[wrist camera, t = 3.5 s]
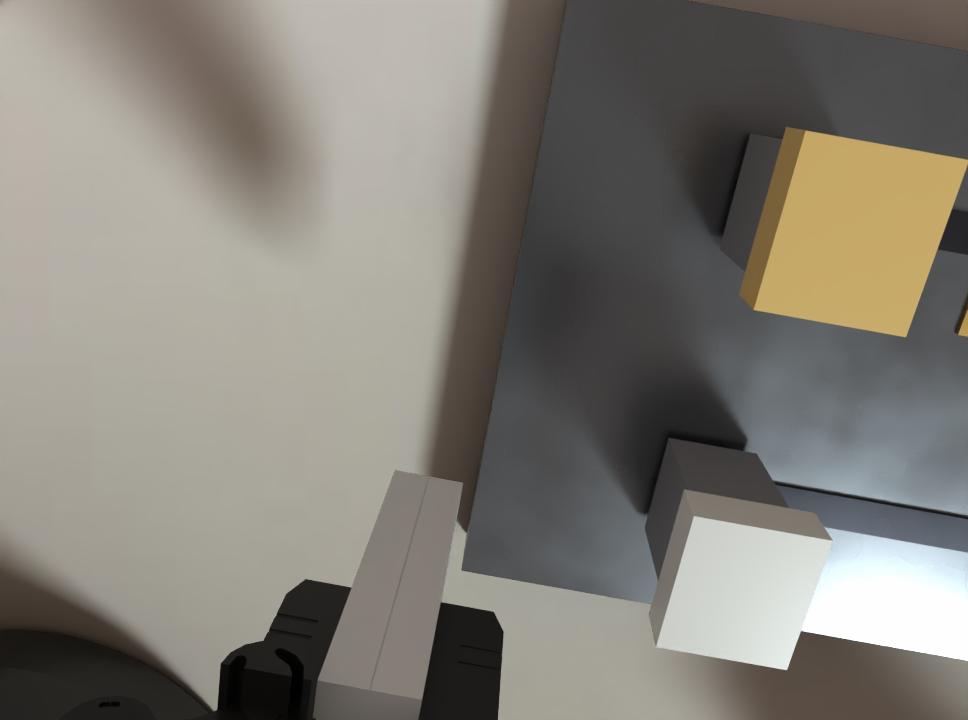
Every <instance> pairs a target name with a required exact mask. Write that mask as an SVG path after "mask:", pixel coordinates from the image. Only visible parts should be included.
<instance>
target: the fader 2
mask: <svg viewBox="0 0 968 720" xmlns="http://www.w3.org/2000/svg"><path fill="white" fill-rule="evenodd" d="M967 165H968V160H966V159H961V158H955V157H950V156H945V155H939V154H934V153H928V152H923V151H917V150H912V149H906V148H901V147H895V146H890V145H884V144H879V143H873V142H867V141H862V140H856V139H851V138H845V137H840V136H834V135H829V134H823V133H818V132H812V131H806V130H801V129H795V128H790V127H786V129H785V133H784V136H783V139H778V138H772V137H767V136H761V135H756V134H750V137H749V141H748V144H747V148H746V152H745V156H744V159H743V163H742V167H741V170H740V174H739V178H738V182H737V185H736V189H735V193H734V197H733V200H732V204H731V208H730V211H729V215H728V219H727V223H726V226H725V230H724V234H723V238H722V241H721V245H720V250H721V251H722V252H723V253H724V254H726V255H727V256H728V257H729V258H730V259H731V260H732V261H733V262H734V263H735V264H737V265H738V266H739V267H740V268H741V269H742V270H743V271H744V272H745V275H744V278H743V282H742V285H741V289H740V292H739V295H740V296H741V297H742V298H743V299H744V300H745V301H746V302H747V304H748V305H749V306H750V307H751V308H752V309H753V310H757V311H762V312H768V313H773V314H779V315H784V316H790V317H796V318H801V319H807V320H812V321H818V322H824V323H829V324H835V325H840V326H846V327H851V328H857V329H863V330H868V331H874V332H879V333H885V334H890V335H896V336H902V337H906V336H907V333H908V330H909V327H910V325H911V322H912V319H913V316H914V313H915V311H916V308H917V305H918V302H919V299H920V297H921V294H922V291H923V288H924V286H925V283H926V280H927V277H928V274H929V272H930V269H931V266H932V263H933V260H934V258H935V255H936V252H937V249H938V246H939V244H940V241H941V238H942V235H943V232H944V230H945V227H946V224H947V221H948V218H949V216H950V213H951V210H952V207H953V204H954V202H955V199H956V196H957V193H958V190H959V188H960V185H961V182H962V179H963V177H964V174H965V171H966V168H967Z"/></svg>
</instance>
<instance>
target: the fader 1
mask: <svg viewBox="0 0 968 720" xmlns="http://www.w3.org/2000/svg"><path fill="white" fill-rule="evenodd" d="M645 532H646V536H647V540H648V544H649V548H650V552H651V556H652V559H653V563H654V567H655V571H656V575H657V579H658V584H657V587H656V591H655V594H654V598H653V601H652V605H651V608H650V612H649V617H650V622H651V626H652V631H653V635H654V640H655V644H656V647H659V648H665V649H670V650H676V651H681V652H687V653H693V654H698V655H704V656H710V657H715V658H721V659H727V660H732V661H738V662H743V663H749V664H755V665H760V666H766V667H772V668H777V669H783V670H787V668H788V666H789V663H790V660H791V657H792V654H793V652H794V649H795V646H796V643H797V641H798V638H799V635H800V632H801V629H802V627H803V624H804V621H805V618H806V615H807V613H808V610H809V607H810V604H811V601H812V599H813V596H814V593H815V590H816V587H817V585H818V582H819V579H820V576H821V573H822V571H823V568H824V565H825V562H826V559H827V557H828V554H829V551H830V548H831V545H832V543H833V540H832V538H831V537H830V535H829V534H828V532H827V531H826V529H825V528H824V526H823V525H822V523H821V522H820V520H819V519H818V517H817V515H816V514H815V513H813V512H808V511H802V510H797V509H791V508H789V506H788V505H787V503H786V501H785V500H784V498H783V496H782V495H781V493H780V491H779V490H778V488H777V486H776V485H775V483H774V481H773V480H772V478H771V476H770V475H769V473H768V471H767V470H766V468H765V467H764V465H763V463H762V462H761V460H760V458H759V457H758V455H757V453H751V452H745V451H740V450H734V449H729V448H723V447H717V446H712V445H706V444H701V443H695V442H689V441H684V440H678V439H673V438H669V439H668V442H667V446H666V450H665V454H664V457H663V461H662V465H661V468H660V472H659V476H658V480H657V483H656V487H655V491H654V495H653V498H652V502H651V506H650V509H649V513H648V517H647V521H646V524H645Z"/></svg>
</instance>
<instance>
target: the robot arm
mask: <svg viewBox="0 0 968 720" xmlns="http://www.w3.org/2000/svg"><path fill="white" fill-rule="evenodd" d="M462 487H463V483H462V482H457V481H451V480H446V479H440V478H435V477H429V476H424V475H419V474H413V473H408V472H402V471H397V470H395V472H394V475H393V477H392V480H391V483H390V485H389V488H388V491H387V493H386V496H385V499H384V502H383V504H382V507H381V510H380V512H379V515H378V518H377V521H376V523H375V526H374V529H373V531H372V534H371V537H370V539H369V542H368V545H367V548H366V550H365V553H364V556H363V558H362V561H361V564H360V567H359V569H358V572H357V575H356V577H355V580H354V583H353V586H352V588H350V587H345V586H340V585H334V584H329V583H323V582H318V581H312V580H307V579H305V580H304V581H303V582H302V583H300V584H299V585H298V586H296V587H295V588H294V589H292V590H291V591H290V592H288V593H287V594H286V596H285V598H284V600H283V602H282V604H281V606H280V608H279V610H278V612H277V616H276V617H275V618H274V620H273V623H272V625H271V627H270V629H269V632H268V633H267V635H266V637H265V639H264V641H260V642H256V643H251V644H246V645H244V646H242V647H240V648H238V649H236V650H234V651H233V652H231V653H230V654H229V655H228V656H227V657H226V658H225V660H224V661H223V662H222V663H221V669H220V682H219V695H218V708H217V710H216V711H214V712H212V713H208V712H207V711H206V710H205V709H204V708H203V707H202V706H201V705H200V704H199V703H198V702H197V701H196V700H195V699H193V698H192V697H191V696H190V695H189V694H187V693H186V692H185V691H184V690H182V689H181V688H180V687H179V686H177V685H176V684H174V683H173V682H172V681H170V680H169V679H167V678H166V677H164V676H163V675H161V674H159V673H158V672H156V671H155V670H153V669H151V668H149V667H148V666H146V665H144V664H142V663H140V662H138V661H136V660H134V659H132V658H130V657H128V656H126V655H124V654H121V653H119V652H116V651H114V650H111V649H109V648H106V647H103V646H100V645H97V644H94V643H91V642H88V641H84V640H81V639H77V638H73V637H68V636H63V635H59V634H52V633H45V632H36V631H24V630H2V631H0V720H498V708H499V693H500V678H501V663H502V648H503V633H504V632H503V630H502V628H501V626H500V624H499V622H498V620H497V618H496V616H495V614H494V612H491V611H486V610H480V609H475V608H470V607H464V606H459V605H453V604H448V603H442V597H443V592H444V586H445V581H446V575H447V570H448V564H449V559H450V553H451V547H452V542H453V536H454V531H455V525H456V520H457V514H458V509H459V503H460V498H461V492H462Z"/></svg>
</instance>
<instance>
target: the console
mask: <svg viewBox="0 0 968 720" xmlns="http://www.w3.org/2000/svg"><path fill="white" fill-rule="evenodd" d="M786 127H790V128H795V129H801V130H806V131H812V132H818V133H823V134H829V135H834V136H840V137H845V138H851V139H856V140H862V141H867V142H873V143H879V144H884V145H890V146H895V147H901V148H906V149H912V150H917V151H923V152H928V153H934V154H939V155H945V156H950V157H955V158H961V159H966V160H968V51H963V50H958V49H952V48H946V47H941V46H935V45H930V44H924V43H919V42H913V41H908V40H902V39H897V38H891V37H886V36H880V35H875V34H869V33H864V32H858V31H852V30H847V29H841V28H836V27H830V26H825V25H819V24H814V23H808V22H803V21H797V20H792V19H786V18H781V17H775V16H770V15H764V14H758V13H753V12H747V11H742V10H736V9H731V8H725V7H720V6H714V5H709V4H703V3H698V2H692V1H687V0H566V5H565V10H564V15H563V21H562V26H561V32H560V37H559V42H558V48H557V53H556V58H555V64H554V69H553V74H552V80H551V85H550V90H549V96H548V101H547V107H546V112H545V117H544V123H543V128H542V133H541V139H540V144H539V149H538V155H537V160H536V165H535V171H534V176H533V181H532V187H531V192H530V198H529V203H528V208H527V214H526V219H525V224H524V230H523V235H522V240H521V246H520V251H519V256H518V262H517V267H516V272H515V278H514V283H513V289H512V294H511V299H510V305H509V310H508V315H507V321H506V326H505V331H504V337H503V342H502V347H501V353H500V358H499V363H498V369H497V374H496V380H495V385H494V390H493V396H492V401H491V406H490V412H489V417H488V422H487V428H486V433H485V438H484V444H483V449H482V454H481V460H480V465H479V471H478V476H477V481H476V487H475V492H474V497H473V503H472V508H471V513H470V519H469V524H468V529H467V535H466V542H465V549H464V556H463V563H462V571H467V572H473V573H479V574H484V575H490V576H495V577H501V578H507V579H512V580H518V581H524V582H529V583H535V584H540V585H546V586H552V587H557V588H563V589H568V590H574V591H580V592H585V593H591V594H597V595H602V596H608V597H613V598H619V599H625V600H630V601H636V602H642V603H647V604H652V601H653V598H654V594H655V591H656V587H657V584H658V579H657V575H656V571H655V567H654V563H653V559H652V556H651V552H650V548H649V544H648V540H647V536H646V532H645V524H646V521H647V517H648V513H649V509H650V506H651V502H652V498H653V495H654V491H655V487H656V483H657V480H658V476H659V472H660V468H661V465H662V461H663V457H664V454H665V450H666V446H667V442H668V439H669V438H673V439H678V440H684V441H689V442H695V443H701V444H706V445H712V446H717V447H723V448H729V449H734V450H740V451H745V452H751V453H757V455H758V457H759V458H760V460H761V462H762V463H763V465H764V467H765V468H766V470H767V471H768V473H769V475H770V476H771V478H772V480H773V481H774V483H775V485H776V486H777V488H778V490H779V491H780V493H781V495H782V496H783V498H784V500H785V501H786V503H787V505H788V506H789V508H791V509H797V510H802V511H808V512H813V513H815V514H816V515H817V517H818V519H819V520H820V522H821V523H822V525H823V526H824V528H825V529H826V531H827V532H828V534H829V535H830V537H831V538H832V540H833V543H832V545H831V548H830V551H829V554H828V557H827V559H826V562H825V565H824V568H823V571H822V573H821V576H820V579H819V582H818V585H817V587H816V590H815V593H814V596H813V599H812V601H811V604H810V607H809V610H808V613H807V615H806V618H805V621H804V624H803V627H802V629H801V631H805V632H810V633H816V634H821V635H827V636H833V637H838V638H844V639H850V640H855V641H861V642H866V643H872V644H878V645H883V646H889V647H895V648H900V649H906V650H911V651H917V652H923V653H928V654H934V655H940V656H945V657H951V658H956V659H962V660H968V165H967V168H966V171H965V174H964V177H963V179H962V182H961V185H960V188H959V190H958V193H957V196H956V199H955V202H954V204H953V207H952V210H951V213H950V216H949V218H948V221H947V224H946V227H945V230H944V232H943V235H942V238H941V241H940V244H939V246H938V249H937V252H936V255H935V258H934V260H933V263H932V266H931V269H930V272H929V274H928V277H927V280H926V283H925V286H924V288H923V291H922V294H921V297H920V299H919V302H918V305H917V308H916V311H915V313H914V316H913V319H912V322H911V325H910V327H909V330H908V333H907V336H906V337H902V336H896V335H890V334H885V333H879V332H874V331H868V330H863V329H857V328H851V327H846V326H840V325H835V324H829V323H824V322H818V321H812V320H807V319H801V318H796V317H790V316H784V315H779V314H773V313H768V312H762V311H757V310H753V309H752V308H751V307H750V306H749V305H748V304H747V302H746V301H745V300H744V299H743V298H742V297H741V296H740V295H739V292H740V289H741V285H742V282H743V278H744V275H745V272H744V271H743V270H742V269H741V268H740V267H739V266H738V265H737V264H735V263H734V262H733V261H732V260H731V259H730V258H729V257H728V256H727V255H726V254H724V253H723V252H722V251H721V250H720V245H721V241H722V238H723V234H724V230H725V226H726V223H727V219H728V215H729V211H730V208H731V204H732V200H733V197H734V193H735V189H736V185H737V182H738V178H739V174H740V170H741V167H742V163H743V159H744V156H745V152H746V148H747V144H748V141H749V137H750V134H756V135H761V136H767V137H772V138H778V139H783V136H784V133H785V129H786Z"/></svg>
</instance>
